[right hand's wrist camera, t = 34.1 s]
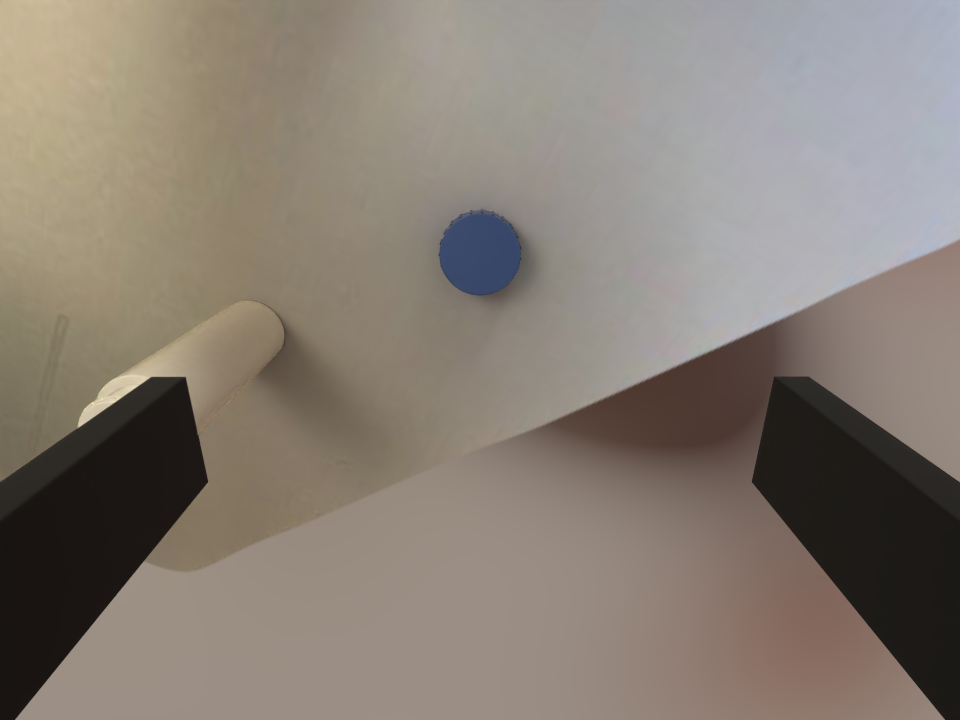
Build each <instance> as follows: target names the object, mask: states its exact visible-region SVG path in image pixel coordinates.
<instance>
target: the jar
mask: <svg viewBox="0 0 960 720" xmlns="http://www.w3.org/2000/svg"><path fill="white" fill-rule="evenodd" d="M283 343H284V329H283V325H282V323H281V321H280V319H279V318H278V316H277V315H276V314H275V312H273V311H272V310H271V309H270V308H269V307H267V306H265V305H264V304H261V303H259V302H255V301H248V300H245V301H238V302H236V303H233V304H231V305H230V306H228V307H226V308H225V309H223V310H222V311H220V312H219V313H217V314H215V315H214V316H212V317H211V318H209V319H207V320H206V321H204V322H203V323H201V324H200V325H198V326H196V327H195V328H193V329H192V330H190V331H188V332H187V333H185V334H184V335H182V336H181V337H179V338H177V339H176V340H174V341H173V342H171V343H170V344H168V345H166V346H165V347H163V348H162V349H160V350H158V351H157V352H155V353H154V354H152V355H151V356H149V357H147V358H146V359H144V360H143V361H141V362H139V363H138V364H136V365H135V366H133V367H132V368H130V369H128V370H127V371H125V372H124V373H122V374H120V375H119V376H117V377H116V378H114V379H113V380H111V381H109V382H108V383H107V384H106V385H105V386H104V387H103V388H102V389H101V391H100V392H99V394H98V396H97V399H96V400H95V401H93V402H92V403H90V404H89V405H88V406H87V407H86V408H85V409H84V410H83V412H82V414H81V416H80V418H79V423H78V428H79V427H80V426H82V425H83V424H85V423H86V422H87V421H89V420H90V419H92V418H93V417H95V416H96V415H97V414H99V413H100V412H102V411H103V410H105V409H106V408H107V407H109V406H110V405H112V404H113V403H115V402H116V401H117V400H119V399H120V398H122V397H123V396H125V395H126V394H127V393H129V392H130V391H132V390H133V389H135V388H136V387H137V386H139V385H140V384H142V383H143V382H145V381H146V380H148V379H149V378H150V377H186V380H187V385H188V389H189V394H190V399H191V403H192V408H193V413H194V418H195V422H196V427H197V432H198V434H199V433H200V432H201V431H202V430H203V429H204V428H205V427H206V426H207V425H208V424H209V423H210V422H211V421H212V420H213V419H214V418H215V417H216V416H217V415H218V414H219V413H220V412H221V411H222V410H223V409H224V408H225V407H226V406H227V405H228V404H229V403H230V402H231V401H232V399H233V398H234V397H235V396H236V395H237V394H238V393H239V392H240V391H241V390H242V389H243V388H244V387H245V386H246V385H247V384H248V383H249V382H250V381H251V380H252V379H253V378H254V377H255V376H256V375H257V374H258V373H259V372H260V371H261V370H262V369H263V368H264V367H265V366H266V365H267V364H268V363H269V362H270V361H271V360H272V359H273V358H274V357H275V356H276V355H277V354H278V353H279V351H280V350H281V348H282V346H283Z"/></svg>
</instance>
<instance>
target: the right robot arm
mask: <svg viewBox="0 0 960 720" xmlns="http://www.w3.org/2000/svg"><path fill="white" fill-rule="evenodd" d="M207 483H208V479H207V474H206V469H205V465H204V460H203V455H202V451H201V446H200V441H199V436H198V432H197V427H196V422H195V418H194V413H193V408H192V403H191V399H190V394H189V389H188V385H187V380H186V377H150V378H149V379H148V380H146V381H145V382H143V383H142V384H140V385H139V386H137V387H136V388H135V389H133V390H132V391H130V392H129V393H127V394H126V395H125V396H123V397H122V398H120V399H119V400H117V401H116V402H115V403H113V404H112V405H110V406H109V407H107V408H106V409H105V410H103V411H102V412H100V413H99V414H97V415H96V416H95V417H93V418H92V419H90V420H89V421H87V422H86V423H85V424H83V425H82V426H80V427H79V428H77V429H76V430H74V431H73V432H72V433H70V434H69V435H67V436H66V437H64V438H63V439H62V440H60V441H59V442H57V443H56V444H54V445H53V446H52V447H50V448H49V449H47V450H46V451H44V452H43V453H42V454H40V455H39V456H37V457H36V458H34V459H33V460H32V461H30V462H29V463H27V464H26V465H24V466H23V467H21V468H20V469H19V470H17V471H16V472H14V473H13V474H11V475H10V476H9V477H7V478H6V479H4V480H3V481H1V482H0V720H15V719H16V718H17V716H18V715H19V714H20V713H21V712H22V710H23V709H24V708H25V707H26V705H27V704H28V703H29V702H30V700H31V699H32V698H33V697H34V696H35V694H36V693H37V692H38V691H39V689H40V688H41V687H42V686H43V684H44V683H45V682H46V681H47V679H48V678H49V677H50V676H51V675H52V673H53V672H54V671H55V670H56V669H57V667H58V666H59V665H60V664H61V662H62V661H63V660H64V659H65V657H66V656H67V655H68V654H69V653H70V651H71V650H72V649H73V648H74V646H75V645H76V644H77V643H78V641H79V640H80V639H81V638H82V636H83V635H84V634H85V633H86V632H87V630H88V629H89V628H90V627H91V625H92V624H93V623H94V622H95V621H96V619H97V618H98V617H99V616H100V614H101V613H102V612H103V611H104V609H105V608H106V607H107V606H108V604H109V603H110V602H111V601H112V600H113V598H114V597H115V596H116V595H117V593H118V592H119V591H120V590H121V588H122V587H123V586H124V585H125V584H126V582H127V581H128V580H129V579H130V577H131V576H132V575H133V574H134V573H135V571H136V570H137V569H138V568H139V566H140V565H141V564H142V563H143V561H144V560H145V559H146V558H147V557H148V555H149V554H150V553H151V552H152V550H153V549H154V548H155V547H156V545H157V544H158V543H159V542H160V541H161V539H162V538H163V537H164V536H165V534H166V533H167V532H168V531H169V529H170V528H171V527H172V526H173V525H174V523H175V522H176V521H177V520H178V518H179V517H180V516H181V515H182V513H183V512H184V511H185V510H186V509H187V507H188V506H189V505H190V504H191V502H192V501H193V500H194V499H195V497H196V496H197V495H198V494H199V493H200V491H201V490H202V489H203V488H204V486H205V485H206V484H207ZM752 483H753V484H754V485H755V486H756V488H757V489H758V490H759V491H760V492H761V494H762V495H763V496H764V497H765V499H766V500H767V501H768V502H769V504H770V505H771V506H772V507H773V509H774V510H775V511H776V512H777V513H778V515H779V516H780V517H781V518H782V520H783V521H784V522H785V523H786V524H787V526H788V527H789V528H790V529H791V531H792V532H793V533H794V534H795V536H796V537H797V538H798V539H799V540H800V542H801V543H802V544H803V545H804V547H805V548H806V549H807V550H808V552H809V553H810V554H811V555H812V556H813V558H814V559H815V560H816V561H817V563H818V564H819V565H820V566H821V568H822V569H823V570H824V571H825V573H826V574H827V575H828V576H829V577H830V579H831V580H832V581H833V582H834V584H835V585H836V586H837V587H838V588H839V590H840V591H841V592H842V593H843V595H844V596H845V597H846V598H847V600H848V601H849V602H850V603H851V604H852V606H853V607H854V608H855V609H856V611H857V612H858V613H859V614H860V615H861V617H862V618H863V619H864V620H865V622H866V623H867V624H868V625H869V627H870V628H871V629H872V630H873V632H874V633H875V634H876V635H877V637H878V638H879V639H880V640H881V641H882V643H883V644H884V645H885V646H886V648H887V649H888V650H889V651H890V653H891V654H892V655H893V656H894V657H895V659H896V660H897V661H898V662H899V664H900V665H901V666H902V667H903V669H904V670H905V671H906V672H907V673H908V675H909V676H910V677H911V678H912V680H913V681H914V682H915V683H916V684H917V686H918V687H919V688H920V689H921V691H922V692H923V693H924V694H925V696H926V697H927V698H928V699H929V700H930V702H931V703H932V704H933V705H934V707H935V708H936V709H937V710H938V712H939V713H940V714H941V715H942V716H943V718H944V719H945V720H960V482H959V481H957V480H956V479H954V478H953V477H951V476H950V475H949V474H947V473H946V472H944V471H943V470H941V469H940V468H939V467H937V466H936V465H934V464H933V463H931V462H930V461H928V460H927V459H926V458H924V457H923V456H921V455H920V454H918V453H917V452H916V451H914V450H913V449H911V448H910V447H908V446H907V445H905V444H904V443H903V442H901V441H900V440H898V439H897V438H896V437H894V436H893V435H891V434H890V433H888V432H887V431H886V430H884V429H883V428H881V427H880V426H878V425H877V424H875V423H874V422H873V421H871V420H870V419H868V418H867V417H865V416H864V415H863V414H861V413H860V412H858V411H857V410H855V409H854V408H853V407H851V406H850V405H848V404H847V403H845V402H844V401H843V400H841V399H840V398H838V397H837V396H835V395H834V394H833V393H831V392H830V391H828V390H827V389H825V388H824V387H823V386H821V385H820V384H818V383H817V382H815V381H814V380H812V379H811V378H810V377H774V380H773V385H772V389H771V394H770V399H769V404H768V408H767V413H766V418H765V422H764V427H763V432H762V437H761V441H760V446H759V451H758V455H757V460H756V465H755V469H754V474H753V479H752Z"/></svg>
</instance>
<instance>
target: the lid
mask: <svg viewBox="0 0 960 720" xmlns="http://www.w3.org/2000/svg"><path fill="white" fill-rule="evenodd" d="M444 234H445V235H444V237H443V240H441V242H440V245H441V246H440V253H439V256H440V263H441V267H442V270H443V272H444V274H445V276H446V277H447V279H448V280H449V281H450V282H451V283H452V284H453V285H454V286H455V287H457V288H458V289H460V290H461V291H463V292H466V293H469V294H473V295H487V294H491V293H494V292H497V291H499V290H501V289H502V288H504V287H505V286H506V285H507V284H508V283H509V282H510V281H511V280H512V279H513V277H514V276H515V274H516V272H517V271H518V267H519V264H520V260H521V257H520V255H521V252H520V249H521V246H520V244H519V242H518V239H517V238H518V236H517V233H515V232H514V230H513V227H512V225H511V224H509V223H508V222H507V221H506V220H505V219H504V217H503V216H502V217H501V216H499V215H497V214H495V213H494V212H493V211H492V212H489V211H483V209H481V211H472V210H471V211H470V212H468V213H465V214H463V215H462V214H461V215H460V217H458V218H457V219H456V220H454V221H452V222H451V224H450V226H449V227H448V229H447V230H445V232H444Z"/></svg>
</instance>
